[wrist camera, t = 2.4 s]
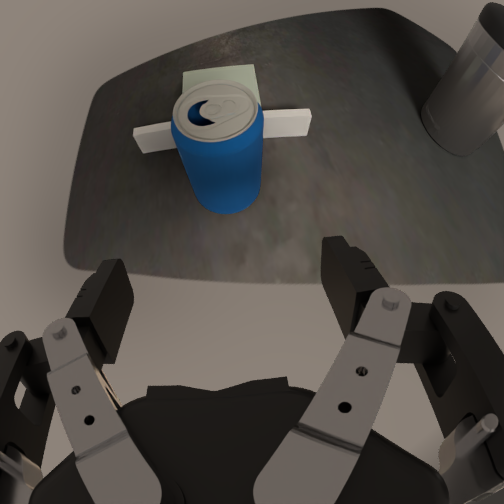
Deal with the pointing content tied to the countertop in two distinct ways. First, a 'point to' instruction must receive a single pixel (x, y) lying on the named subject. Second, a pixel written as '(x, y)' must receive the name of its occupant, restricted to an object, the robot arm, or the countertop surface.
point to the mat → (223, 77)
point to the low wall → (274, 126)
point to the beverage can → (220, 143)
